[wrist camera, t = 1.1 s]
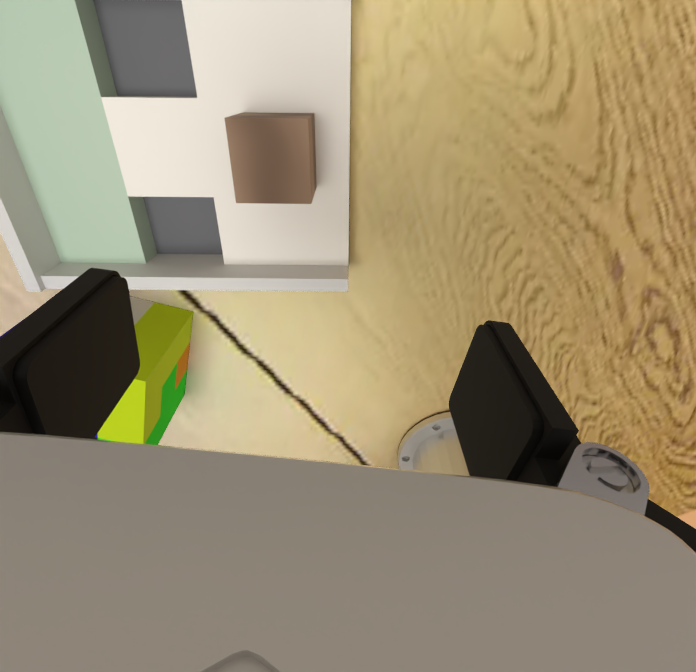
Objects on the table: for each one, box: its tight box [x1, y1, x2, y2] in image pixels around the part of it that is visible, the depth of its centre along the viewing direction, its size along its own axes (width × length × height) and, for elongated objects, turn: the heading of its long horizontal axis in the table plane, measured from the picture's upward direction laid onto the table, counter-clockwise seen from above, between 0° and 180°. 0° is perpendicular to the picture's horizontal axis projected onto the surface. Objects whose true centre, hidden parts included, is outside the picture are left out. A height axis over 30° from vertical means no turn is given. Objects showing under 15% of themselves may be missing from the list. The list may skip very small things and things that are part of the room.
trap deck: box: [0, 0, 351, 292], centre depth 27 cm, size 23×18×6 cm
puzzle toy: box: [0, 296, 193, 445], centre depth 34 cm, size 10×10×10 cm
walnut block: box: [225, 112, 317, 204], centre depth 25 cm, size 4×4×4 cm
